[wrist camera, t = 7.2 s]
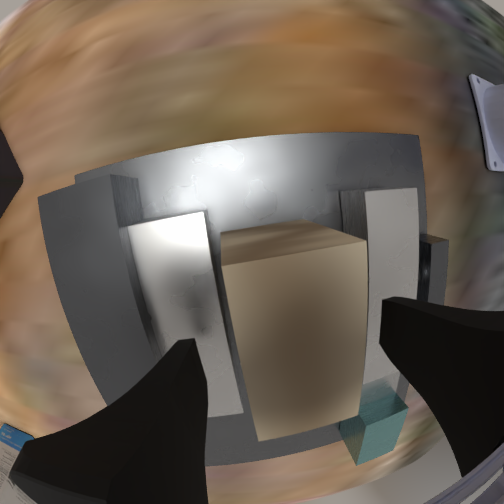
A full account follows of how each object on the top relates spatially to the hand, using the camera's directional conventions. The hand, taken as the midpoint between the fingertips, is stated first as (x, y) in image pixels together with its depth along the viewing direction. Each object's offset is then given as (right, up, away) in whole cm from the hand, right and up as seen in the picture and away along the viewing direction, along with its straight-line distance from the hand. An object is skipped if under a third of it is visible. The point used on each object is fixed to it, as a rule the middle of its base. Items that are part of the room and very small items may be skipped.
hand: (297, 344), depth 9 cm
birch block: (-1, +1, +4) cm, 4 cm away
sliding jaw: (+5, -2, +5) cm, 8 cm away
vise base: (0, -2, +5) cm, 6 cm away
